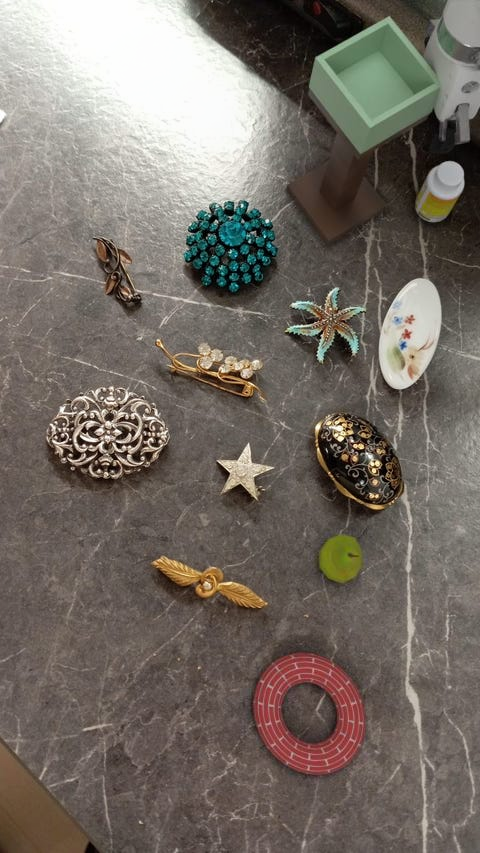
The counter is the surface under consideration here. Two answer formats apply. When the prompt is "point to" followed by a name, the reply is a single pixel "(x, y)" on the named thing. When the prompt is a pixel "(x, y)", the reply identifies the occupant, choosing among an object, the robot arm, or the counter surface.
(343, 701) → the torus
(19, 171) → the counter surface
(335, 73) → the bin
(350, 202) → the stand
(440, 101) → the robot arm
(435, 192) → the supplement bottle
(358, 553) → the fruit
